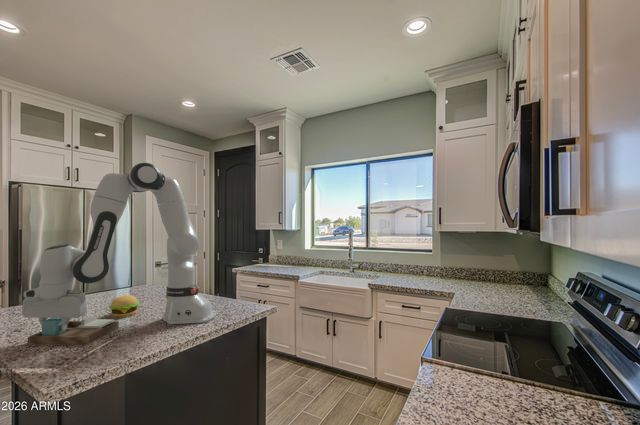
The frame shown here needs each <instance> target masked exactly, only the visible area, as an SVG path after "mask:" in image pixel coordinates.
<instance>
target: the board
mask: <svg viewBox="0 0 640 425" xmlns="http://www.w3.org/2000/svg"><path fill="white" fill-rule="evenodd" d="M119 322H120V321H117V320H114V322H112V323H110V324H108V325H106V326H104V327H102V328H78V326H80V325H81V320H70V321H69V322H68V324H67V329H66V332H63V333H61V334H59V335H56V336H42V330H41V331H39V332H37V333H34V334H31V335H29V336H27V345H41V346H42V345H59V346H60V345H61V346H62V345H63V346H65V345H67V346H68V345H69V346H70V345H71V346H72V345H73V346H75V345H79V346H80V345H82V346H86V345H89V344H90V343H92V342H94V341H97V340H98V339H100V338H102V337H104V336H105V335H108V334H110V333H112V332H114V331H115V330H118V329H119V325H120V324H119Z"/></svg>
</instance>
